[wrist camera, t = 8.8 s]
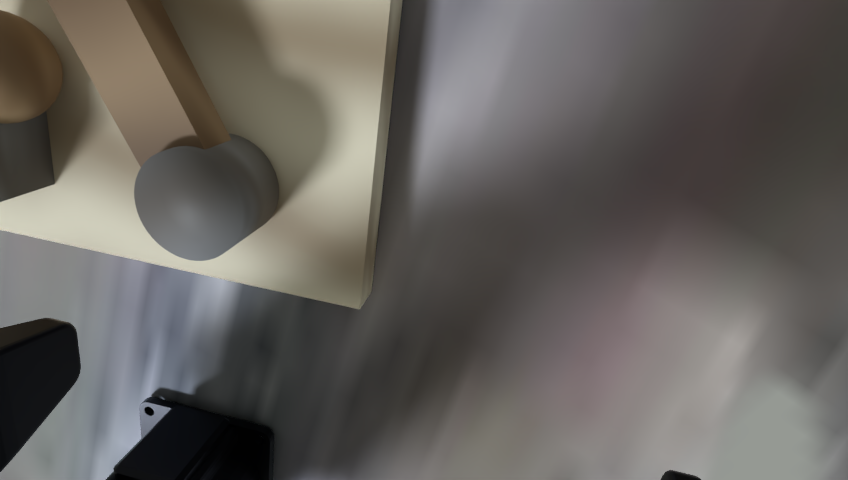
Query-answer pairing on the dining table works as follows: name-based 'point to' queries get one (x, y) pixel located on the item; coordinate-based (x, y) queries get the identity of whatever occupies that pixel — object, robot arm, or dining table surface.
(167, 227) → the lever
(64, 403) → the dining table surface
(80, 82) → the nutcracker base
